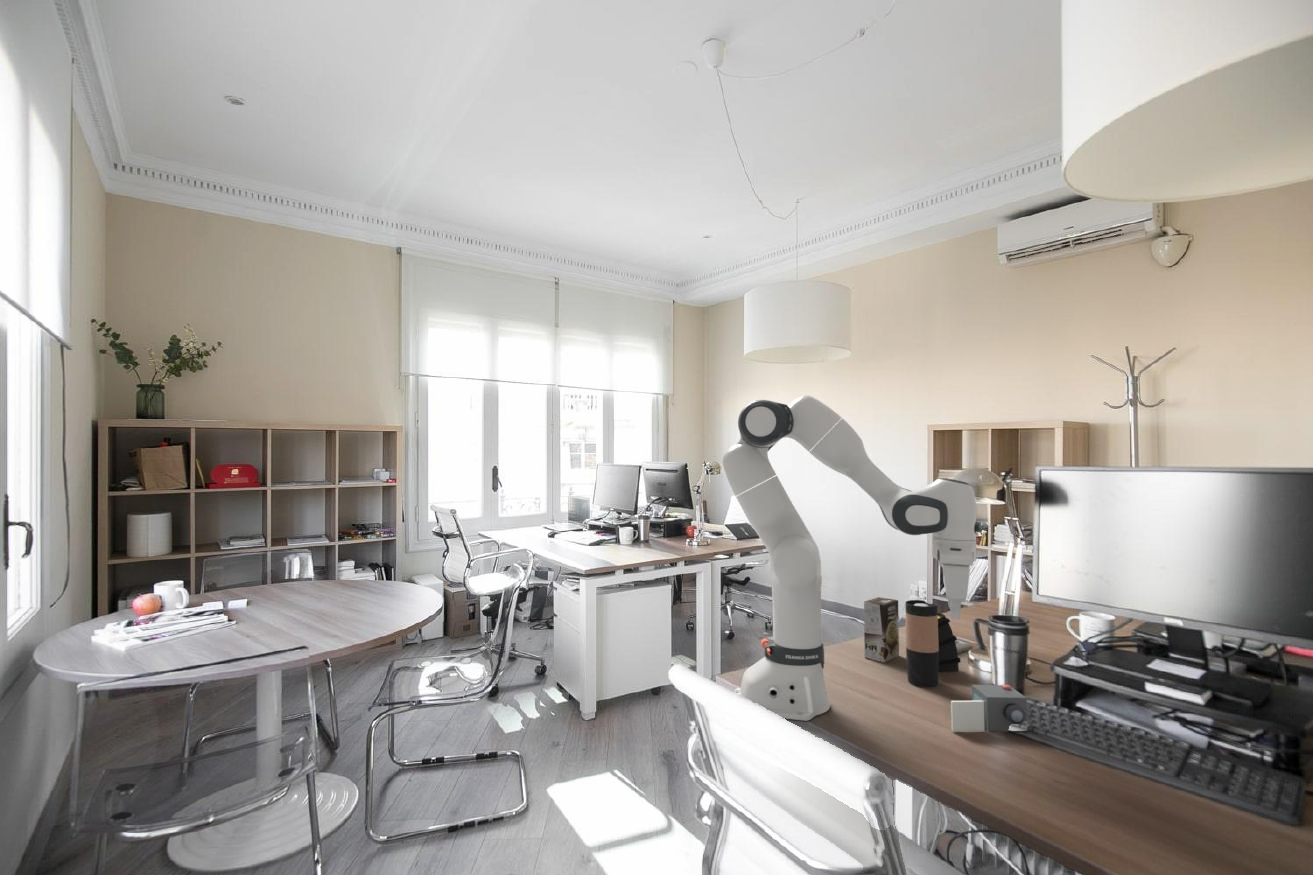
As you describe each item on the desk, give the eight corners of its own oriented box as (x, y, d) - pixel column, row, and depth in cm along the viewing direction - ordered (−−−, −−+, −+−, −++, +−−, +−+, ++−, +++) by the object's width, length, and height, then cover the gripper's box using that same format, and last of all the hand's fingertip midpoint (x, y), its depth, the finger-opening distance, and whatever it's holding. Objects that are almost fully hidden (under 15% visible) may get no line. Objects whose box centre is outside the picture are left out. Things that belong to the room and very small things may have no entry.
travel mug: (910, 687, 150) (908, 606, 151) (903, 676, 158) (902, 599, 159) (943, 689, 149) (941, 607, 150) (934, 678, 156) (933, 600, 157)
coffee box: (885, 663, 168) (884, 604, 169) (863, 657, 173) (862, 601, 174) (900, 656, 174) (899, 599, 175) (879, 650, 179) (878, 596, 180)
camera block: (992, 735, 124) (991, 697, 124) (972, 716, 133) (971, 681, 133) (1033, 736, 123) (1032, 698, 124) (1009, 717, 132) (1009, 682, 133)
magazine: (971, 665, 161) (947, 614, 161) (929, 688, 160) (904, 637, 160) (963, 660, 165) (939, 611, 165) (922, 683, 164) (898, 633, 164)
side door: (987, 730, 125) (987, 701, 126) (953, 731, 125) (952, 702, 125) (985, 729, 126) (985, 699, 126) (951, 729, 126) (950, 700, 126)
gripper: (937, 544, 146) (936, 602, 145) (939, 556, 127) (939, 622, 126) (966, 546, 143) (966, 605, 143) (973, 558, 124) (973, 626, 124)
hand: (953, 613), depth 134 cm, fingers open, 8 cm apart
